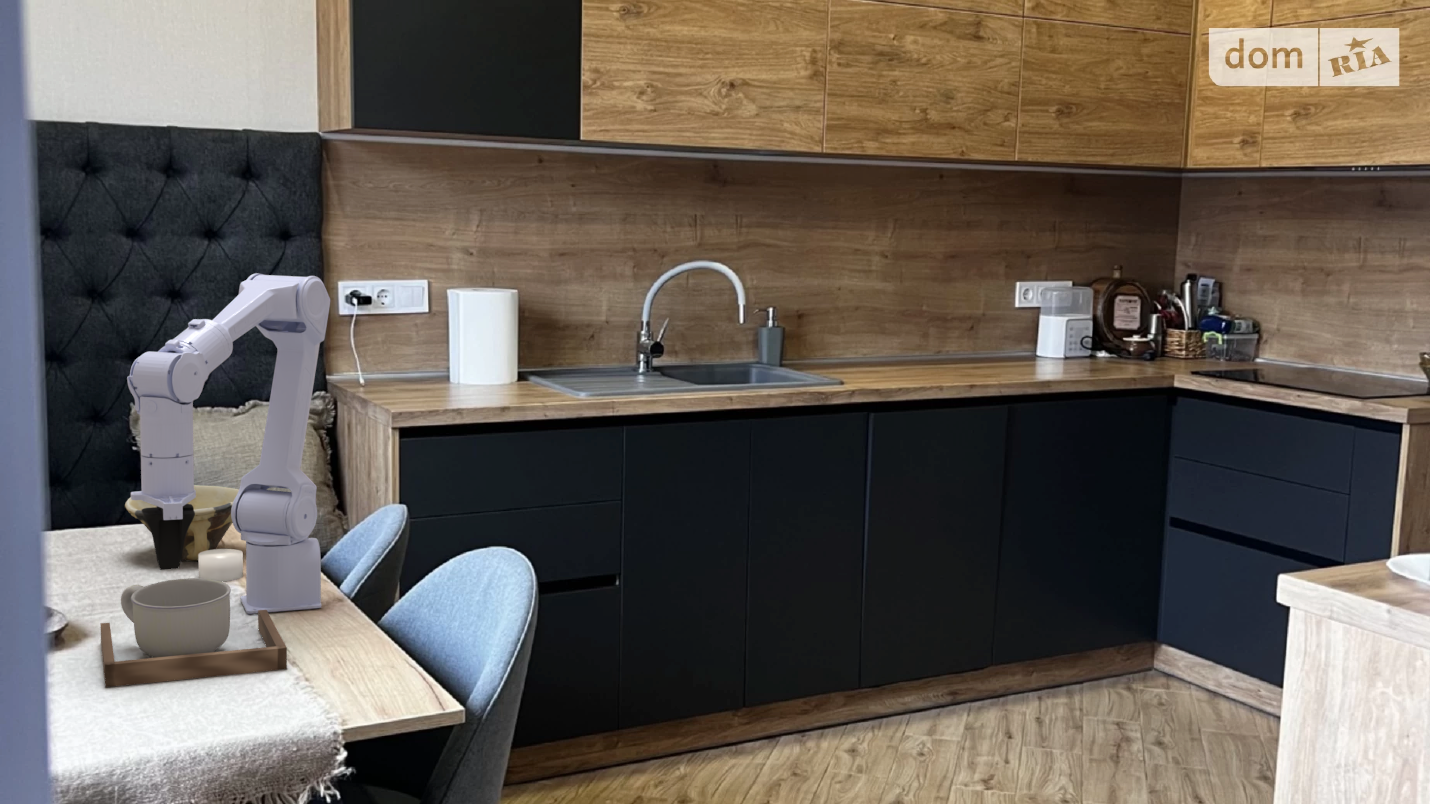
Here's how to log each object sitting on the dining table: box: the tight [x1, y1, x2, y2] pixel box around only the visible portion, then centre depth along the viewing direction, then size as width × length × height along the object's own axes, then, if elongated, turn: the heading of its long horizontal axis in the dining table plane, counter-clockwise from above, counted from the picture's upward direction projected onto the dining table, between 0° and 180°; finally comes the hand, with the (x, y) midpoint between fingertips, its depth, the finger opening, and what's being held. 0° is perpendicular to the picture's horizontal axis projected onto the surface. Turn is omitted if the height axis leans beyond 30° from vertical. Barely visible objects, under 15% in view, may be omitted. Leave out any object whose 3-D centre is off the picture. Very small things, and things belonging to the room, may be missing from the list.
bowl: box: [124, 484, 239, 562], centre depth 206 cm, size 18×18×10 cm
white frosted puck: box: [197, 548, 244, 583], centre depth 195 cm, size 6×6×4 cm
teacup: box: [120, 577, 231, 658], centre depth 159 cm, size 14×11×8 cm
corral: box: [100, 610, 288, 688], centre depth 159 cm, size 19×17×2 cm
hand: (169, 568), depth 160 cm, fingers closed
